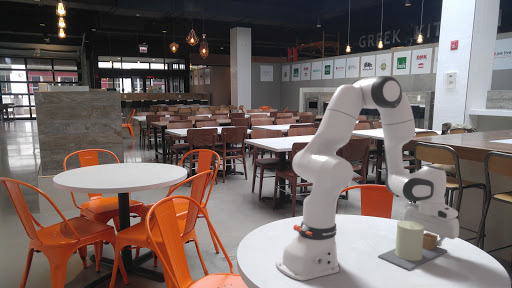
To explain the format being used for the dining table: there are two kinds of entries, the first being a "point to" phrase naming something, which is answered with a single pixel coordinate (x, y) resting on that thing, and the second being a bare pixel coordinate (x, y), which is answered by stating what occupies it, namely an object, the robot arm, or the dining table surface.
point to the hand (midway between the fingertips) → (428, 242)
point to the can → (409, 240)
